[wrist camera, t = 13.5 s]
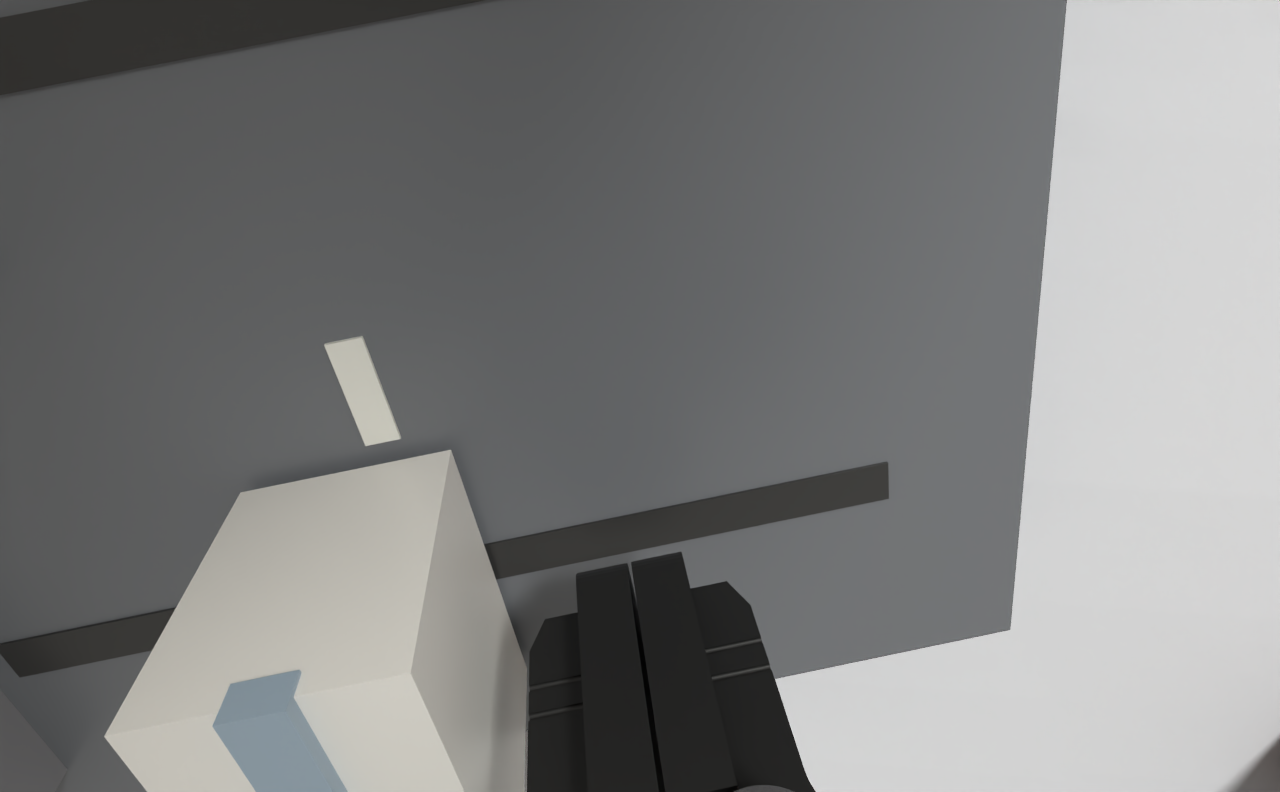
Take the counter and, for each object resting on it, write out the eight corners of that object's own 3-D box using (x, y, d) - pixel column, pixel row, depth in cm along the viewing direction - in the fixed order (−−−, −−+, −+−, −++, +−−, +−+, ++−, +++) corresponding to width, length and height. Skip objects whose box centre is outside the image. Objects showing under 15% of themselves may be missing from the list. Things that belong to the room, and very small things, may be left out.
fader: (239, 489, 11) (91, 751, 7) (449, 446, 11) (405, 686, 7) (352, 706, 13) (281, 988, 10) (527, 670, 13) (523, 938, 10)
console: (-703, -264, 8) (-1351, -378, 5) (1009, -586, 8) (1242, -855, 6) (94, 740, 16) (0, 905, 13) (959, 561, 16) (1045, 686, 14)
